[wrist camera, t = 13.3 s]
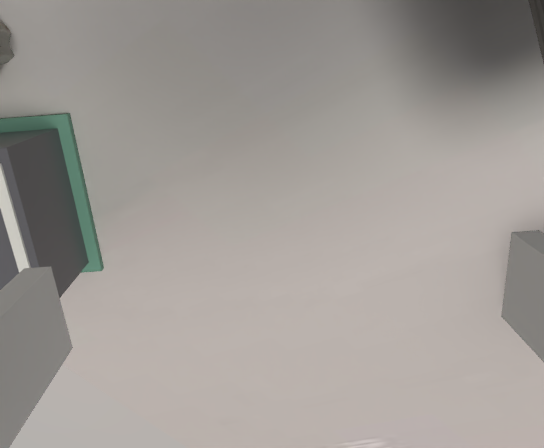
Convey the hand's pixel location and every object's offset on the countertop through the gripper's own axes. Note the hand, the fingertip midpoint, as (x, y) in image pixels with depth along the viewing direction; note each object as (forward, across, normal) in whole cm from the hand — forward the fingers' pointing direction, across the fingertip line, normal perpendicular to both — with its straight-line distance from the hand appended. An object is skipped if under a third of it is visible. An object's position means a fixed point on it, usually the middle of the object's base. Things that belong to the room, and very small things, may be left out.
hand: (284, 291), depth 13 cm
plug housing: (+26, -20, -4) cm, 33 cm away
